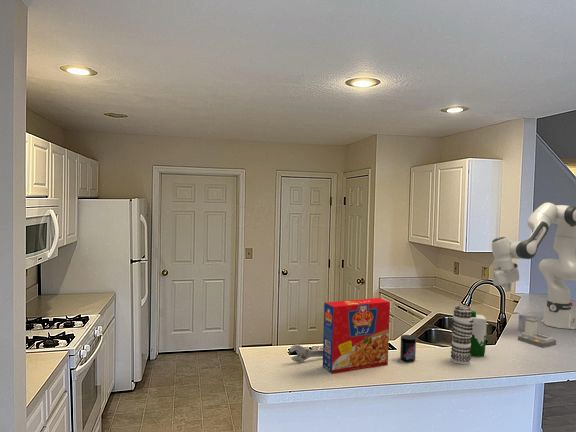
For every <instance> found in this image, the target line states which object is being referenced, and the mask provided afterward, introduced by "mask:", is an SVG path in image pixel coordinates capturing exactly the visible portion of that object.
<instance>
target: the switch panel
mask: <svg viewBox="0 0 576 432" xmlns="http://www.w3.org/2000/svg"><path fill="white" fill-rule="evenodd" d="M517 341H518V342H519V341H520V342H524V343H526V344H530V345H533V346H535V347H536V346H537V347H540V348H543V349H544V348H546V347H550V346H555V345H556V344H557V340H556V339H554V337H552V336H548V335H543V334H540V333H537V337H536V336H533V335H529V334H526V333H525V332H524V331H521V333H520V335H518V337H517Z"/></svg>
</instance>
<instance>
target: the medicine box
mask: <svg viewBox="0 0 576 432" xmlns="http://www.w3.org/2000/svg"><path fill="white" fill-rule="evenodd" d="M527 318H532V319H536V320H538V318H537V316H535V315H533V314H519V315H518V327H517V328H518V330H519V331H520V332H525V323H526V320H525V319H527Z"/></svg>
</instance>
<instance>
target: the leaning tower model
mask: <svg viewBox="0 0 576 432" xmlns="http://www.w3.org/2000/svg"><path fill="white" fill-rule="evenodd" d="M472 311H473V310H472V309H471V307H470V306H469V305H464V304H457V305H456V306H455V307H453V315H452V317H451V335H452V340H451V345H450V346H451V348H450V349H451V351H450V361H451V362H454V363H456V364H460V365H470V364H471V362H472V361H471V360H472V356H471V354H470V352H471V350H470V349H471V342H470V341H471V339H470V338H471V337H472V335H471V334H472V332H471V330H473V329H472V328H471V327H472V326H473V325H472V324H471V322H473V320H472V317H471V315H472Z"/></svg>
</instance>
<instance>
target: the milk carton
mask: <svg viewBox="0 0 576 432" xmlns="http://www.w3.org/2000/svg"><path fill="white" fill-rule="evenodd" d="M471 317H472V320H473V322H471V324H472V325H473V326H472V327H471V328H472V329H473V330H471V332H472V334H471V335H472V337H471V338H470V339H471V341H470V342H471V349H470V350H471V352H470V354H471V357H473V356H474V357H481V358H482V357H485V353H486V345H487V341H486V340H487V318H486V317H485V316H484V314H477V312H476V311H474V310H472V315H471Z"/></svg>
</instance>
